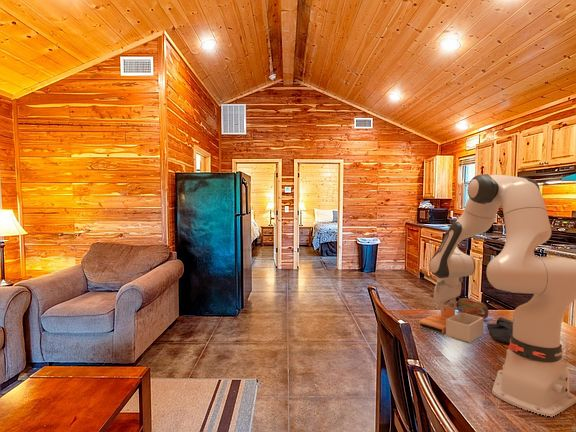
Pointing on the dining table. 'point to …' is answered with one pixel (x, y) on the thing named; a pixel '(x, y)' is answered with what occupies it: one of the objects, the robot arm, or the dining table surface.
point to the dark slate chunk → (501, 330)
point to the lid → (438, 319)
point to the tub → (464, 327)
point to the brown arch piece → (472, 307)
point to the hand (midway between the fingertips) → (447, 308)
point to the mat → (433, 329)
